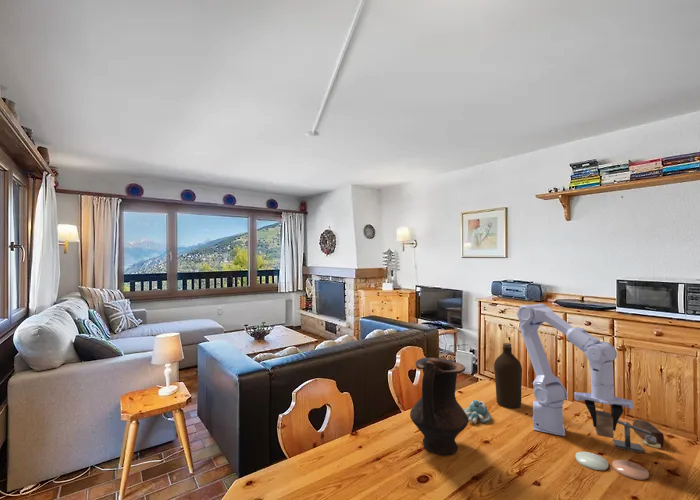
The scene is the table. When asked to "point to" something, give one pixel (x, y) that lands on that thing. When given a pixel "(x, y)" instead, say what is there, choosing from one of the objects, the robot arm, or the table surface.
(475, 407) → the stuffed animal
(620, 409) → the robot arm
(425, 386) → the jug
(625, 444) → the balance
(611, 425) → the walnut block
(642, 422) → the brick
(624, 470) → the pink disc
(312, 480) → the table surface
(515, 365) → the olive oil
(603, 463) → the sage dish
